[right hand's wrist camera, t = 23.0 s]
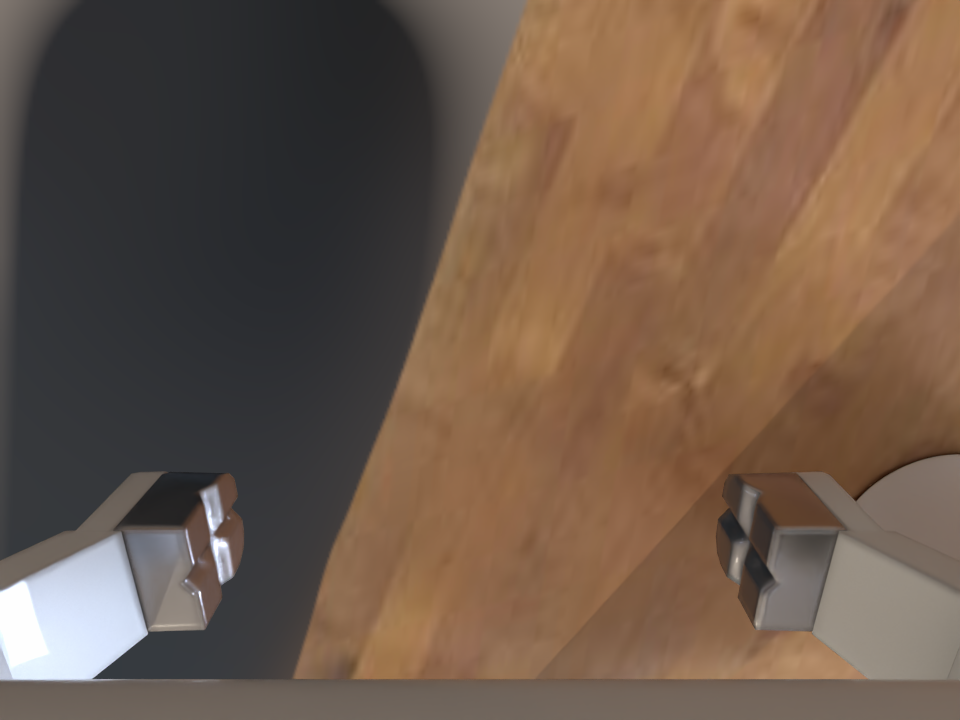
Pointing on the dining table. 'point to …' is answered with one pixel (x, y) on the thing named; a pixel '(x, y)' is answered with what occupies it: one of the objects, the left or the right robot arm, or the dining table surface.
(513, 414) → the dining table surface
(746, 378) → the dining table surface
